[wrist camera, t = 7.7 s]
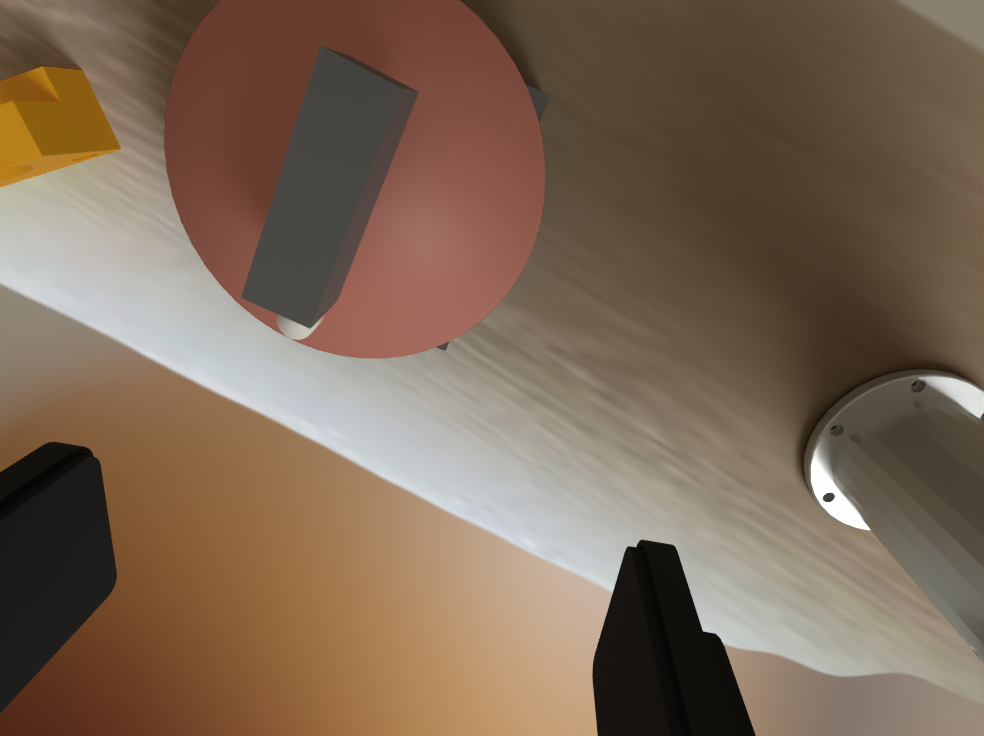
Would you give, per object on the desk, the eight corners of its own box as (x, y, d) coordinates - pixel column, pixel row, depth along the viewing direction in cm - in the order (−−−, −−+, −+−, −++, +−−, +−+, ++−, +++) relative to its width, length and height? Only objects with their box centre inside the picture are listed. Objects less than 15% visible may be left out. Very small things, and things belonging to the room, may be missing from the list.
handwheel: (234, -126, 24) (126, -218, 17) (614, 86, 26) (647, 77, 20) (143, 261, 30) (40, 302, 24) (452, 400, 33) (436, 471, 27)
